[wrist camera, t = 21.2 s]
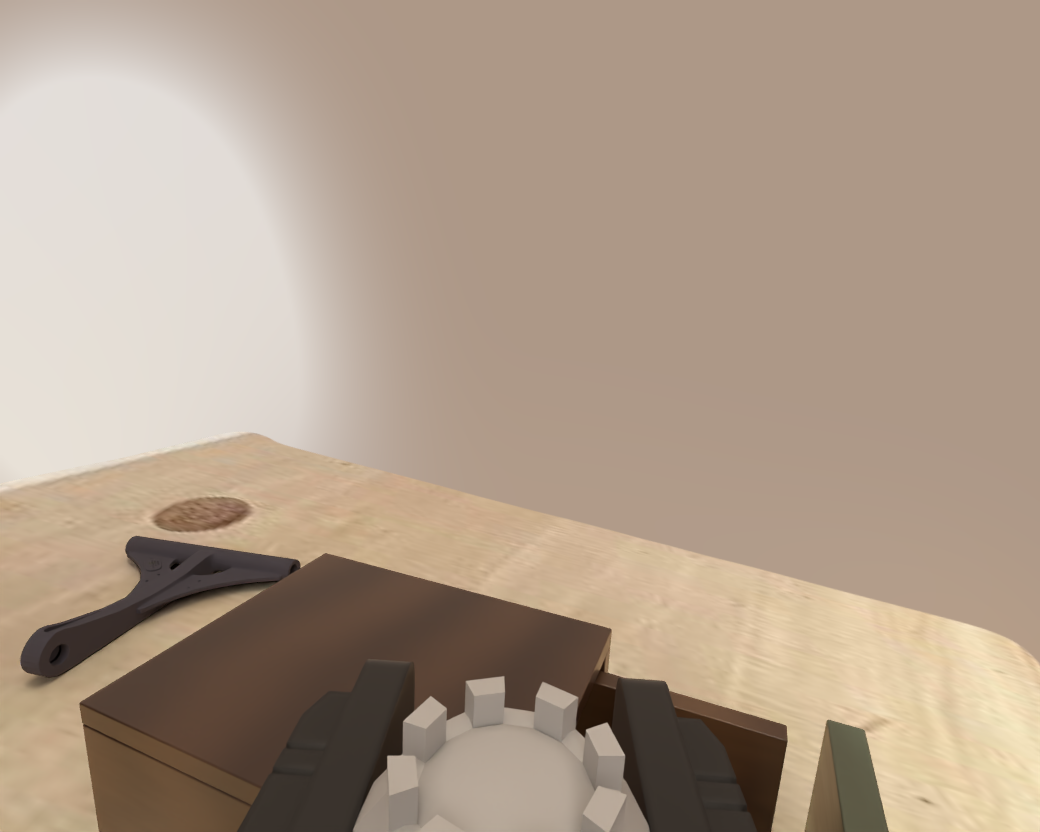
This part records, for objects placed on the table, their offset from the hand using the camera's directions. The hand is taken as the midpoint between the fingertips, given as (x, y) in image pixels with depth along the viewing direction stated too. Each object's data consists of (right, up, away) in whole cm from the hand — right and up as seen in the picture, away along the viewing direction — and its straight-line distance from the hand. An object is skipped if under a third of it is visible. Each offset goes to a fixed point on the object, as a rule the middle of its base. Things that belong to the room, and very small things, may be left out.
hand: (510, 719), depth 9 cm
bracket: (-26, -9, +30) cm, 40 cm away
